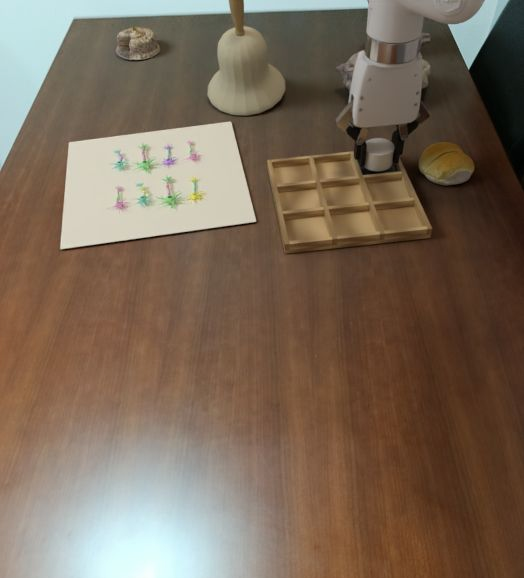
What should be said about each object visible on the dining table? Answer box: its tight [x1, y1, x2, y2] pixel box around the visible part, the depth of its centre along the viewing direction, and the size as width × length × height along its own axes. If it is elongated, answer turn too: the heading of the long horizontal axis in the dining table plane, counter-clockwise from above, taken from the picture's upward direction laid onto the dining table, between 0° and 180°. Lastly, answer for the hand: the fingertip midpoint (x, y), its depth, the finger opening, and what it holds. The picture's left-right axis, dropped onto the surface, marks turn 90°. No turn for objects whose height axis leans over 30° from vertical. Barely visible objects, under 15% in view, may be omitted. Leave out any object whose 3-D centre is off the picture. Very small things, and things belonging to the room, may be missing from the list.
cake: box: [115, 26, 161, 61], centre depth 128 cm, size 10×10×5 cm
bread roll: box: [418, 141, 475, 186], centre depth 95 cm, size 8×9×4 cm
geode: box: [335, 49, 432, 93], centre depth 110 cm, size 17×9×15 cm
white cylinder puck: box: [364, 137, 395, 171], centre depth 95 cm, size 5×5×3 cm
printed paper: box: [59, 121, 257, 250], centre depth 98 cm, size 30×30×2 cm
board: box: [266, 150, 433, 255], centre depth 92 cm, size 22×22×2 cm
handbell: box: [207, 0, 286, 117], centre depth 104 cm, size 15×15×25 cm
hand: (377, 159), depth 95 cm, fingers closed on white cylinder puck, 4 cm apart
